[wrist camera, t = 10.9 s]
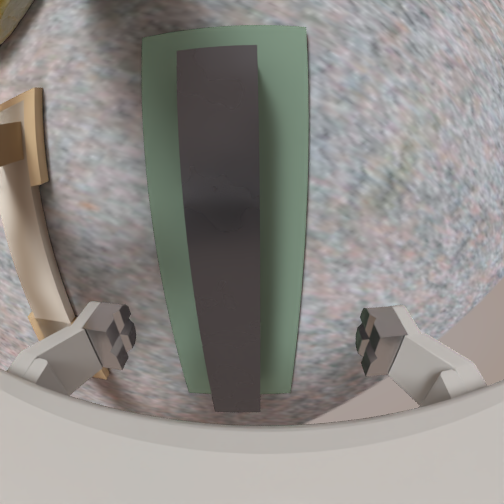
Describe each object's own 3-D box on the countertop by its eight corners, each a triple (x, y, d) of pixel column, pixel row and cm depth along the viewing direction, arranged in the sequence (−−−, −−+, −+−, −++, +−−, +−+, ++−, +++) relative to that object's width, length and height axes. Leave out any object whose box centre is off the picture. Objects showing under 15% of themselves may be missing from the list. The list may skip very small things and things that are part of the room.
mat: (304, 29, 11) (305, 27, 10) (289, 389, 21) (290, 392, 20) (145, 39, 11) (142, 38, 10) (189, 388, 21) (189, 392, 20)
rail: (255, 61, 11) (257, 44, 8) (259, 379, 20) (260, 411, 17) (191, 65, 11) (176, 50, 8) (218, 379, 20) (215, 411, 17)
